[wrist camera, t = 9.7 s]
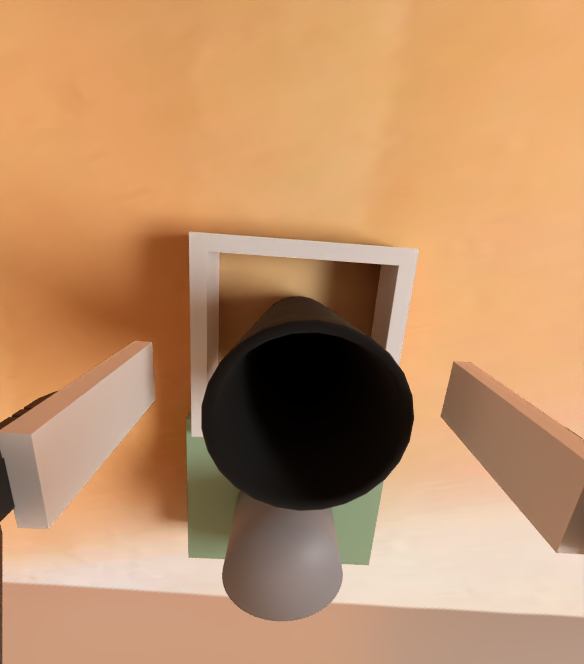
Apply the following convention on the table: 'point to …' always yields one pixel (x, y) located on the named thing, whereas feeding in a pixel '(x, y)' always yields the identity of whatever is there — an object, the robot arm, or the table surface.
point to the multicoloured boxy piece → (239, 508)
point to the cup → (306, 410)
